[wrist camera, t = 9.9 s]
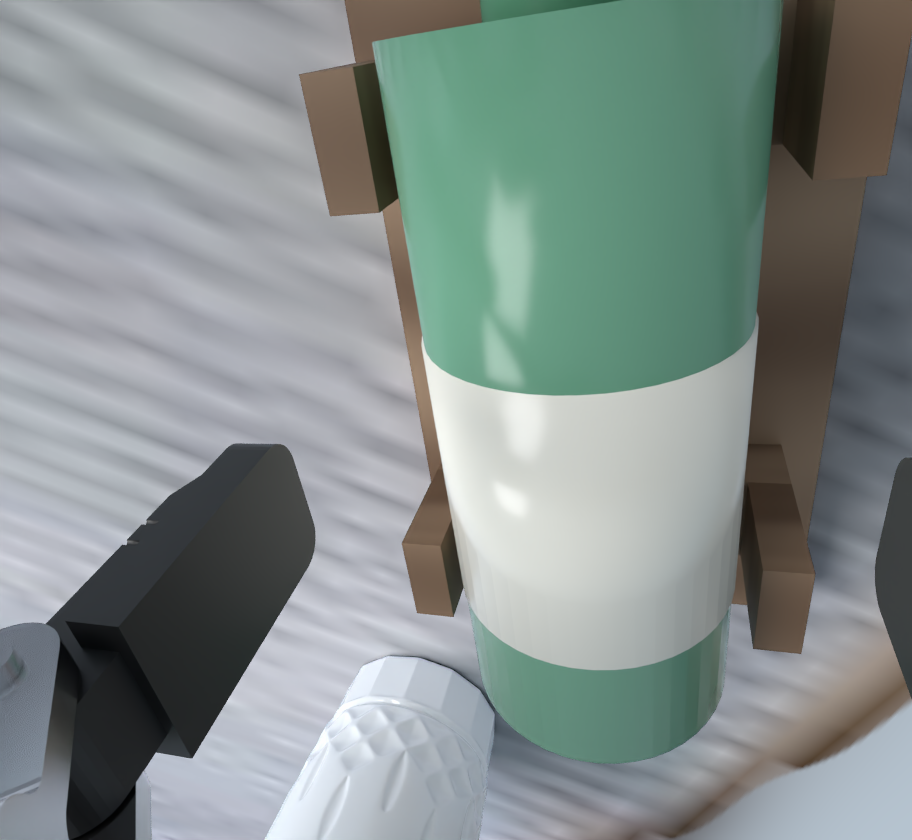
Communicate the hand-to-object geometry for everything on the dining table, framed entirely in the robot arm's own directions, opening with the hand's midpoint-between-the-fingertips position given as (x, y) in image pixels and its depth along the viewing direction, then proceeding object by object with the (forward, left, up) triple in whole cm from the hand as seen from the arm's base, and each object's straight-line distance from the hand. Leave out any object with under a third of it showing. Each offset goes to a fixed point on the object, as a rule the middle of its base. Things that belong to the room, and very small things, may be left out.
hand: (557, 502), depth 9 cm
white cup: (+20, -8, -11) cm, 24 cm away
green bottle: (-2, -1, -8) cm, 8 cm away
